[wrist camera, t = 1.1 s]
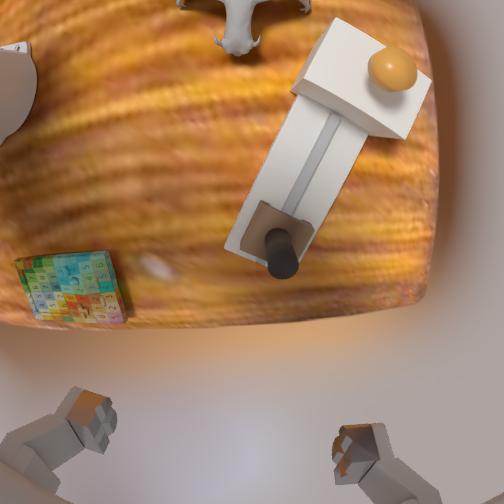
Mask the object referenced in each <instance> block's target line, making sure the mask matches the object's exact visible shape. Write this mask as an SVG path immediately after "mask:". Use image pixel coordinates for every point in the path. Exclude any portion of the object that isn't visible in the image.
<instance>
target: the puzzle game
mask: <svg viewBox="0 0 504 504" xmlns="http://www.w3.org/2000/svg"><path fill="white" fill-rule="evenodd" d="M14 262H15V265H16V268H17V271H18V274H19V277H20V280H21V283H22V285H23V288H24V291H25V293H26V296H27V298H28V301H29V303H30V306H31V308H32V310H33V313H34V315H35V317H36V319H44V320H56V321H70V322H87V323H107V324H123V323H126V321H127V319H128V318H127V315H126V312H125V306H124V302H123V299H122V296H121V292H120V289H119V285H118V282H117V278H116V275H115V271H114V267H113V263H112V259H111V255H110V252H109V251H108V250H106V251H94V252H81V253H69V254H57V255H46V256H34V257H23V258H17V259H16V260H15V261H14Z"/></svg>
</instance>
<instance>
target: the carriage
mask: <svg viewBox="0 0 504 504" xmlns="http://www.w3.org/2000/svg"><path fill="white" fill-rule="evenodd" d="M314 231H315V229H314V228H313V226H312V225H311V223H309V222H307V221H305V220H303V219H302V221H301V220H299V219H297V218H295V217H293V216H290V215H288V214H286V213H284V212H282V211H280V210H278V209H275V208H273V207H271V206H270V204H269V203H267V202H265V201H263V200H260V202H259V204H258V206H257V208H256V210H255V212H254V214H253V216H252V218H251V220H250V223H249V225H248V227H247V229H246V231H245V233H244V235H243V237H242V239H241V241H240V250H241V251H244V252H246V253H248V254H251V255H253V256H255V257H258V258H260V259H263V260H265V261H267V264H268V270H269V272H270V274H271V275H272V276H273V277H275V278H277V279H288V278H290V277H292V276H293V275H295V273H296V272H297V270H298V267H299V262H298V260H299V258H300V256H301V254H302V252H303V251H304V249H305V247H306V245H307V244H308V242H309V240H310V238H311V236H312V235H313V233H314Z"/></svg>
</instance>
